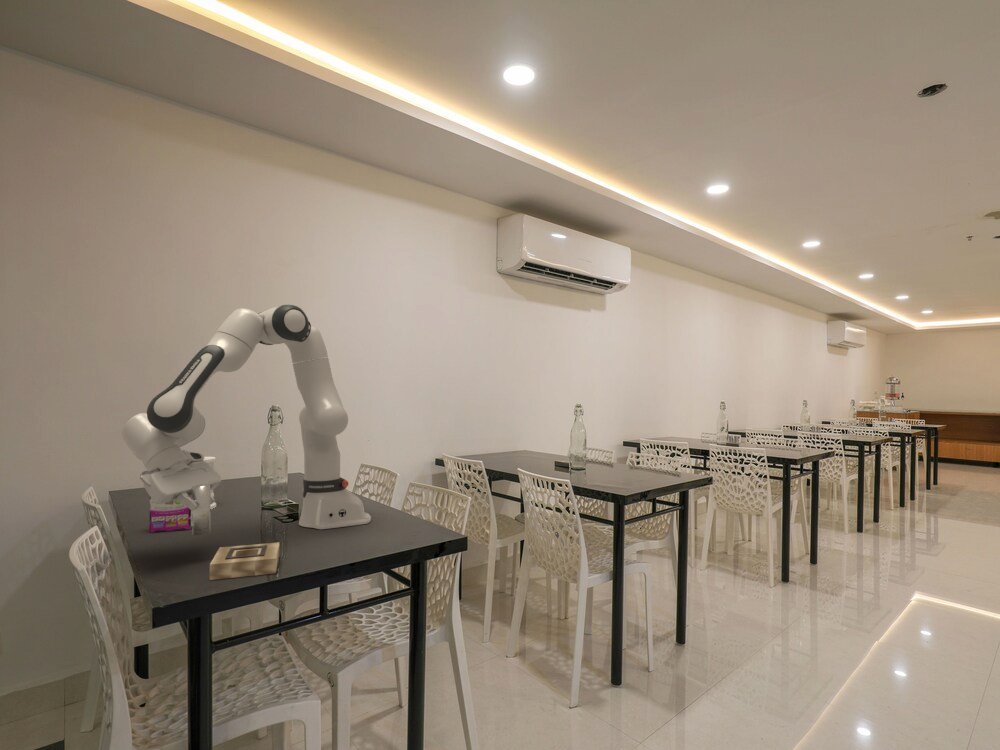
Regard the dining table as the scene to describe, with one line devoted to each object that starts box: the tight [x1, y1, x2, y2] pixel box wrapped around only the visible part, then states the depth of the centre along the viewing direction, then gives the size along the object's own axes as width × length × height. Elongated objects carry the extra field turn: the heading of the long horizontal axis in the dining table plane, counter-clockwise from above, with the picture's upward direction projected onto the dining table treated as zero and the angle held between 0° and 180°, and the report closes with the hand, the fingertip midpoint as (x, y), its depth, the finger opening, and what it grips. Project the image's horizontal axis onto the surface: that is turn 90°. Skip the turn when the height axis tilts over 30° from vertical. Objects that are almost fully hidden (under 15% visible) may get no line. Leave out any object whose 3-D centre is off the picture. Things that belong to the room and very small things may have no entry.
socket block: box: [209, 542, 281, 581], centre depth 134 cm, size 14×14×4 cm
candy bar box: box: [148, 496, 193, 534], centre depth 169 cm, size 11×5×16 cm, turn 112°
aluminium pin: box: [192, 484, 211, 536], centre depth 140 cm, size 4×4×12 cm
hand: (203, 505), depth 139 cm, fingers closed on aluminium pin, 4 cm apart
